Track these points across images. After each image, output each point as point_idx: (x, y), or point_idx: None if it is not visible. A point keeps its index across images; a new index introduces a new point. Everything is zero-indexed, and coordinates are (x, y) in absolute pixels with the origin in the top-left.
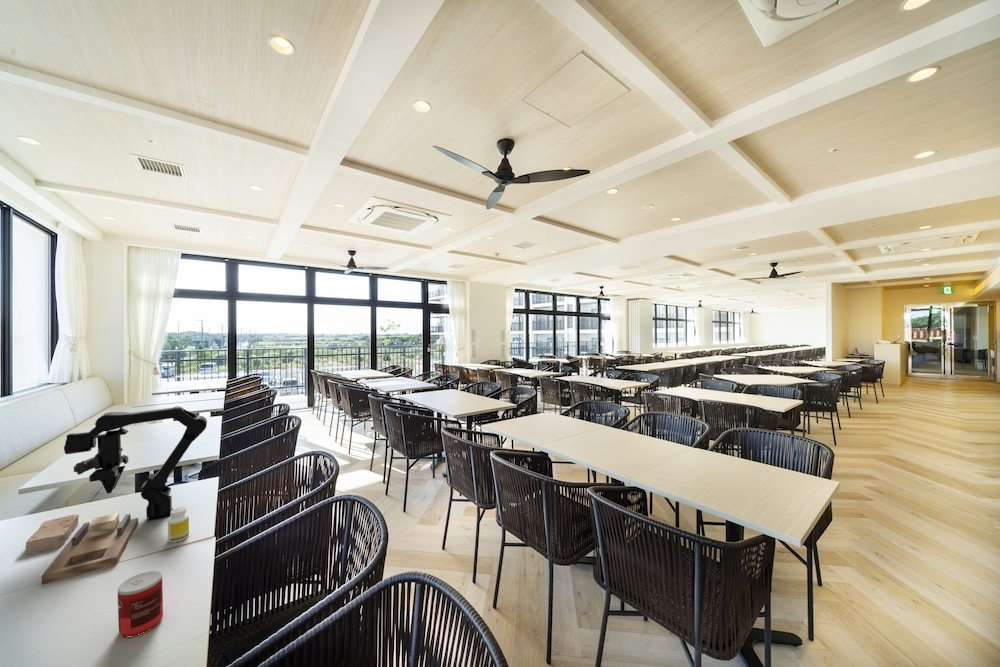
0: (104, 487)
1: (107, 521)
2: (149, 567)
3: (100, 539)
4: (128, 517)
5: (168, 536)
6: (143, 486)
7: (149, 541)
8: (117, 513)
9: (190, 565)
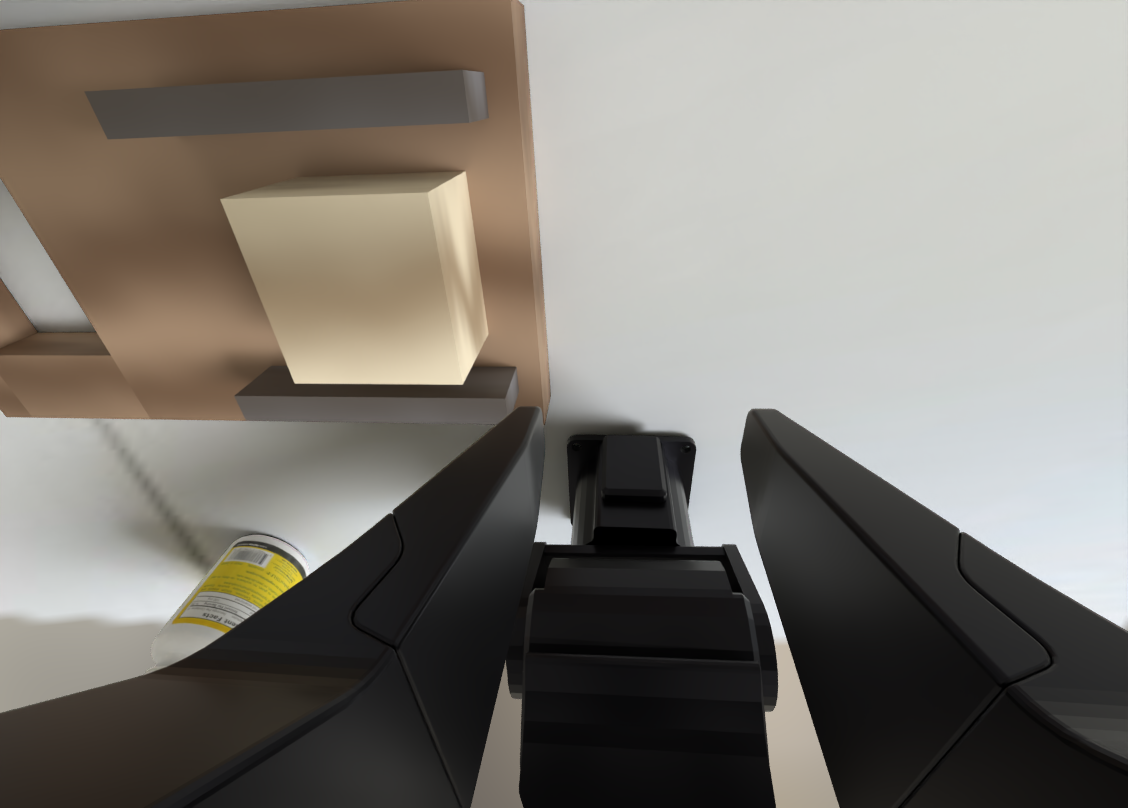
0: (424, 486)
1: (280, 342)
2: (34, 498)
3: (238, 278)
4: (445, 419)
5: (223, 558)
6: (540, 692)
7: (277, 472)
8: (451, 376)
9: (50, 590)
